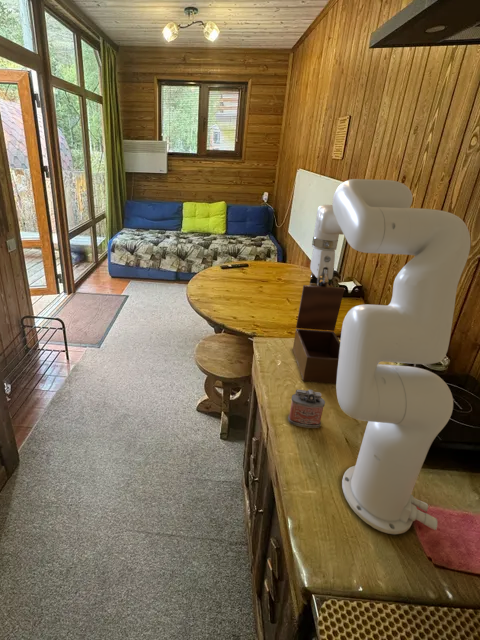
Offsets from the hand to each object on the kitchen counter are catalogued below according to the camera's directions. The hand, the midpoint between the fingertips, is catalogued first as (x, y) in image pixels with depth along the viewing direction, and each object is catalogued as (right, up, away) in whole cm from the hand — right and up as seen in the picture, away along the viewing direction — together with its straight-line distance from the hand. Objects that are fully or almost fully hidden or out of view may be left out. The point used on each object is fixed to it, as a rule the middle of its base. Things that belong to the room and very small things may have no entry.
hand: (316, 292), depth 106 cm
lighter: (-14, -31, -26) cm, 43 cm away
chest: (-2, -24, -5) cm, 24 cm away
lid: (-1, -5, -4) cm, 7 cm away
